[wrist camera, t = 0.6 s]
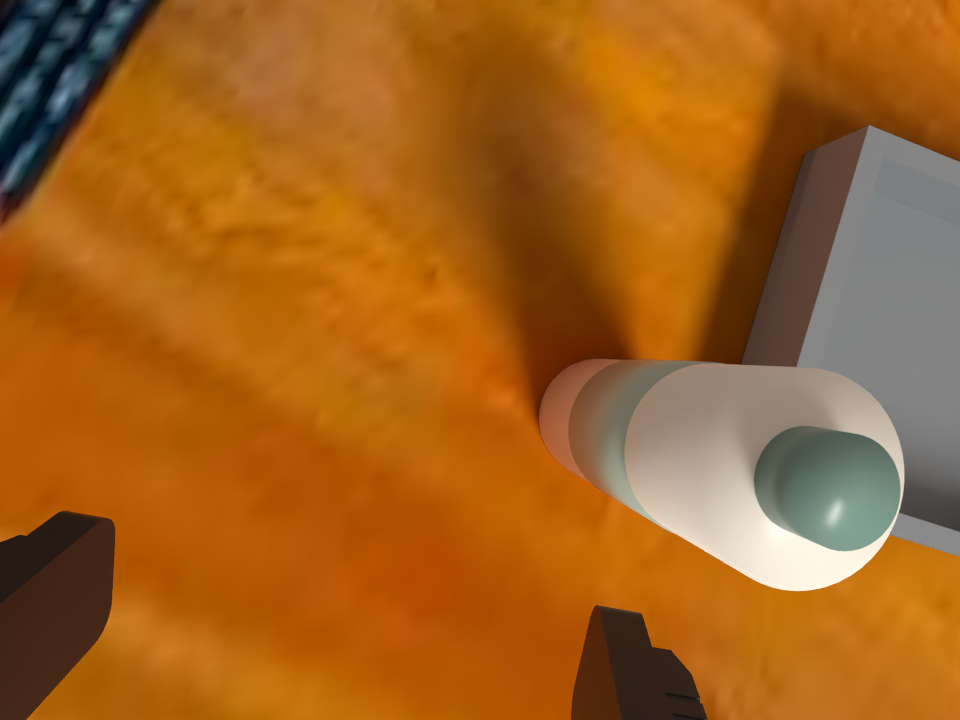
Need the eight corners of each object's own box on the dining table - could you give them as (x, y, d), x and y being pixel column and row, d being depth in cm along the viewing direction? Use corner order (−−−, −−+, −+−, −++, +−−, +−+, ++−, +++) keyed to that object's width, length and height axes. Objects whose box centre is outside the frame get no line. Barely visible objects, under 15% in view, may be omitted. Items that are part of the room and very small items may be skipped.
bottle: (558, 342, 33) (773, 334, 16) (668, 378, 34) (986, 409, 17) (522, 458, 33) (699, 580, 16) (633, 491, 34) (918, 643, 16)
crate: (804, 153, 35) (869, 125, 30) (1078, 261, 37) (1175, 249, 33) (707, 474, 34) (758, 493, 30) (991, 563, 37) (1077, 593, 32)
